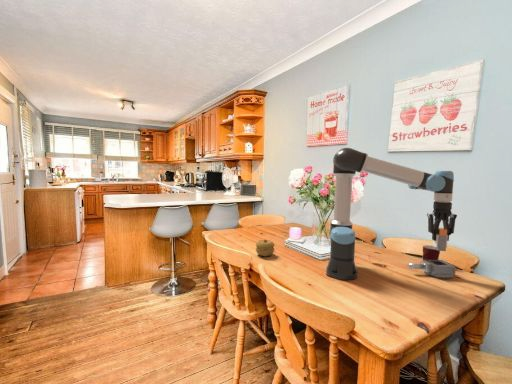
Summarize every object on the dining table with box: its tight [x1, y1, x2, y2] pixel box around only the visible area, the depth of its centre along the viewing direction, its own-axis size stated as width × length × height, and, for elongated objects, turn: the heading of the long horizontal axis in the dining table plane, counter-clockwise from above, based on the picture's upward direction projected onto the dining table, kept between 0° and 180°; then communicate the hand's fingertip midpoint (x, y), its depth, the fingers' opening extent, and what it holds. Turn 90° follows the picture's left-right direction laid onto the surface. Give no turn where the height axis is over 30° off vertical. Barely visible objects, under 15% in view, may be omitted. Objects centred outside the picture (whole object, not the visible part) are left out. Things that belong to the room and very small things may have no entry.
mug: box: [421, 244, 441, 260], centre depth 145 cm, size 11×8×10 cm
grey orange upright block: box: [434, 227, 447, 252], centre depth 130 cm, size 4×4×11 cm
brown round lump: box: [255, 238, 275, 257], centre depth 160 cm, size 12×12×10 cm
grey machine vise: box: [407, 258, 457, 280], centre depth 132 cm, size 21×12×6 cm, turn 86°
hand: (439, 246), depth 130 cm, fingers closed on grey orange upright block, 4 cm apart
